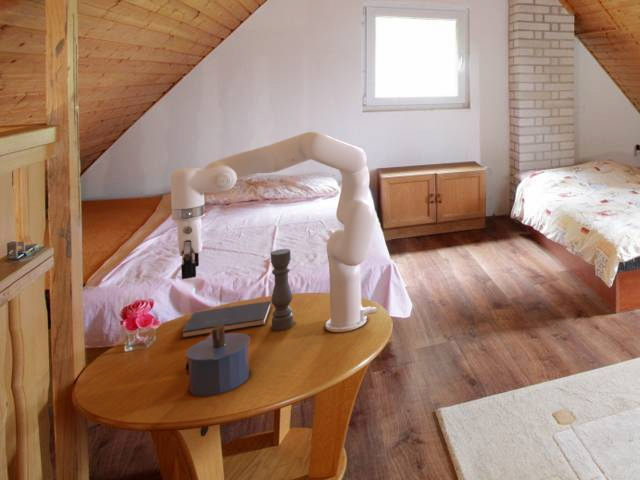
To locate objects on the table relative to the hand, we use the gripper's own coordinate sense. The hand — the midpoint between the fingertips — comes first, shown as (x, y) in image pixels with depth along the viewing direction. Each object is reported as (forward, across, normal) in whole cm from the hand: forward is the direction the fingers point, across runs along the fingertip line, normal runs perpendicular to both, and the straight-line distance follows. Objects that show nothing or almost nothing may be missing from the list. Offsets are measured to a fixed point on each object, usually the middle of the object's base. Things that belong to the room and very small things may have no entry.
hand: (190, 272), depth 163 cm
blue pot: (+28, -11, -7) cm, 31 cm away
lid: (+19, -11, -7) cm, 23 cm away
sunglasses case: (+28, +7, -4) cm, 30 cm away
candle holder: (+28, +18, -23) cm, 41 cm away
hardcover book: (+28, +31, -8) cm, 43 cm away
